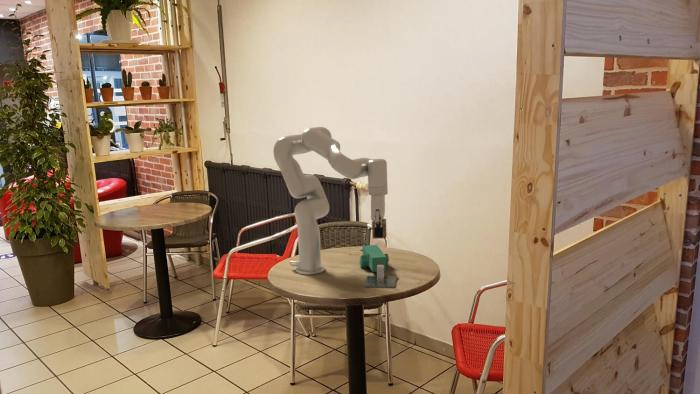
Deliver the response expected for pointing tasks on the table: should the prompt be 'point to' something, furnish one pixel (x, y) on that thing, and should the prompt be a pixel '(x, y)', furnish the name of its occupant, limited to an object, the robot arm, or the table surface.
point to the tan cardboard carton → (383, 229)
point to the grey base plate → (380, 279)
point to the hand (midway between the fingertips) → (379, 234)
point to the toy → (373, 257)
